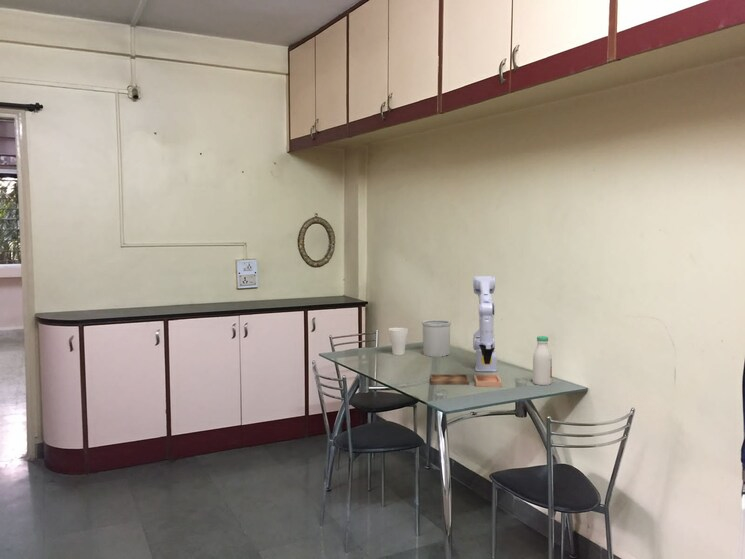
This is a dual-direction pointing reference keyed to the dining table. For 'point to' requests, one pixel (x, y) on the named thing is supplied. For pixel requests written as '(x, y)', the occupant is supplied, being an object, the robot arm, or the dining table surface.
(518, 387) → the dining table surface
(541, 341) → the milk bottle
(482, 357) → the ball
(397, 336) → the cup
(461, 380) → the tray
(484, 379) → the dish
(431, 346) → the utensil holder
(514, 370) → the dining table surface
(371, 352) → the dining table surface
